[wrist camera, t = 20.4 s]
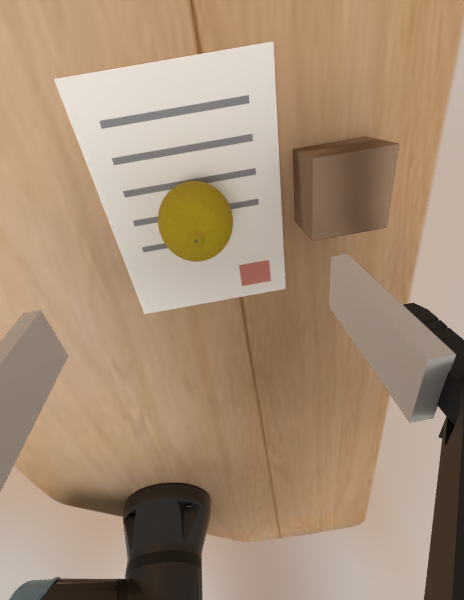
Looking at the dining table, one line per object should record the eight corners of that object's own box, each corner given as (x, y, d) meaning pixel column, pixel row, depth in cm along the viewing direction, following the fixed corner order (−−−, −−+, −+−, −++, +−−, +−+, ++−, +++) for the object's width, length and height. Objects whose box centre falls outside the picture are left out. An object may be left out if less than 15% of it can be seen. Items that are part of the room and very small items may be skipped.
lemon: (150, 210, 26) (133, 245, 19) (190, 156, 24) (188, 175, 17) (200, 249, 28) (202, 293, 21) (241, 203, 26) (256, 235, 19)
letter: (144, 313, 32) (144, 314, 31) (55, 79, 20) (53, 79, 20) (285, 287, 32) (285, 289, 32) (272, 41, 21) (273, 41, 20)
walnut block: (294, 220, 28) (312, 241, 24) (292, 149, 25) (312, 159, 20) (357, 208, 28) (386, 227, 24) (364, 136, 25) (399, 143, 21)
